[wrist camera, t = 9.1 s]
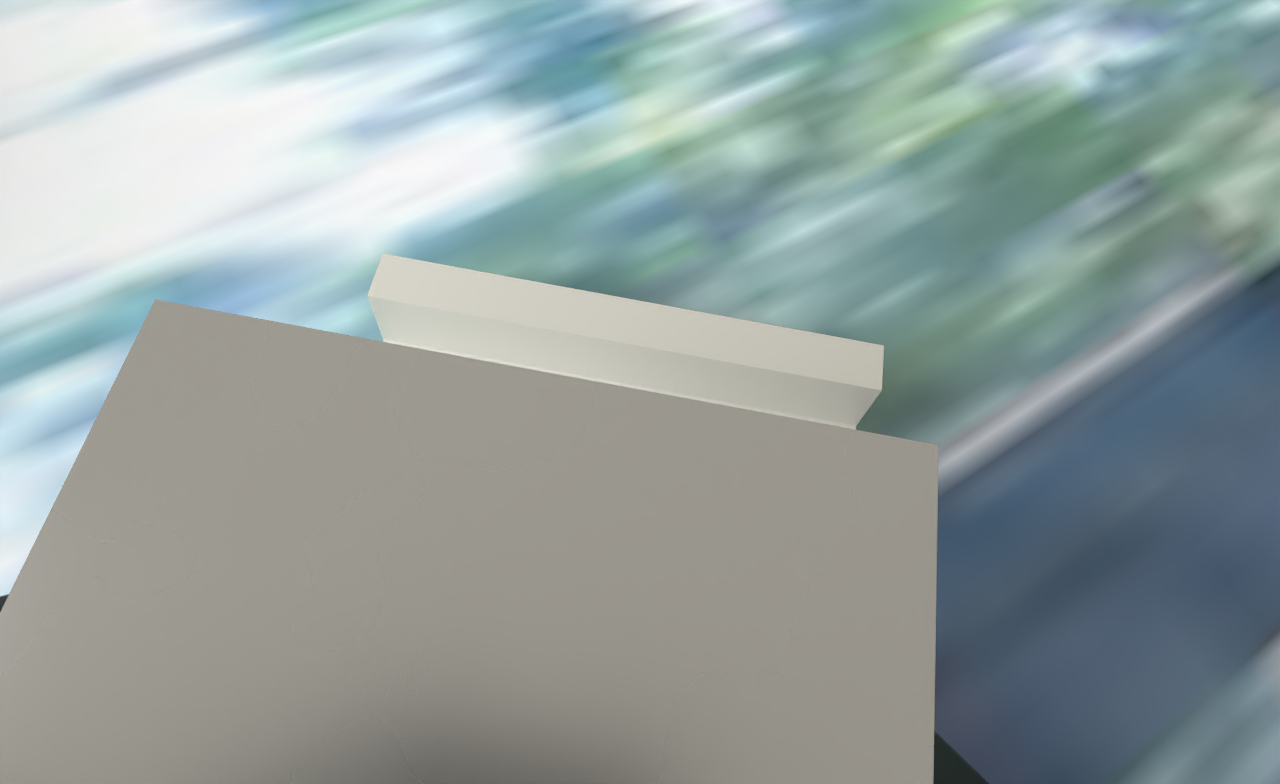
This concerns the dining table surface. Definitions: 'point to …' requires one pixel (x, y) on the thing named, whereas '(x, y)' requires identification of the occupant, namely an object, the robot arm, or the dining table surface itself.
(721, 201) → the dining table surface
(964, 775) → the robot arm
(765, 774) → the block
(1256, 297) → the dining table surface
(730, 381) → the tray
